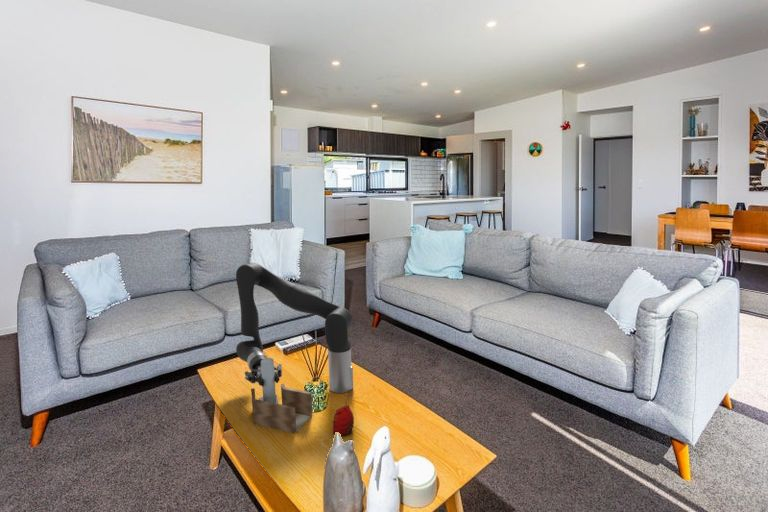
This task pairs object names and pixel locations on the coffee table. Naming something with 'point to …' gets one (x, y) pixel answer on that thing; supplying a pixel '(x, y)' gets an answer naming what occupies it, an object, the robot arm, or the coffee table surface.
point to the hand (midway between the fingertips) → (270, 382)
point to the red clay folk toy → (343, 419)
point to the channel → (283, 410)
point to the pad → (276, 399)
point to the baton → (268, 380)
